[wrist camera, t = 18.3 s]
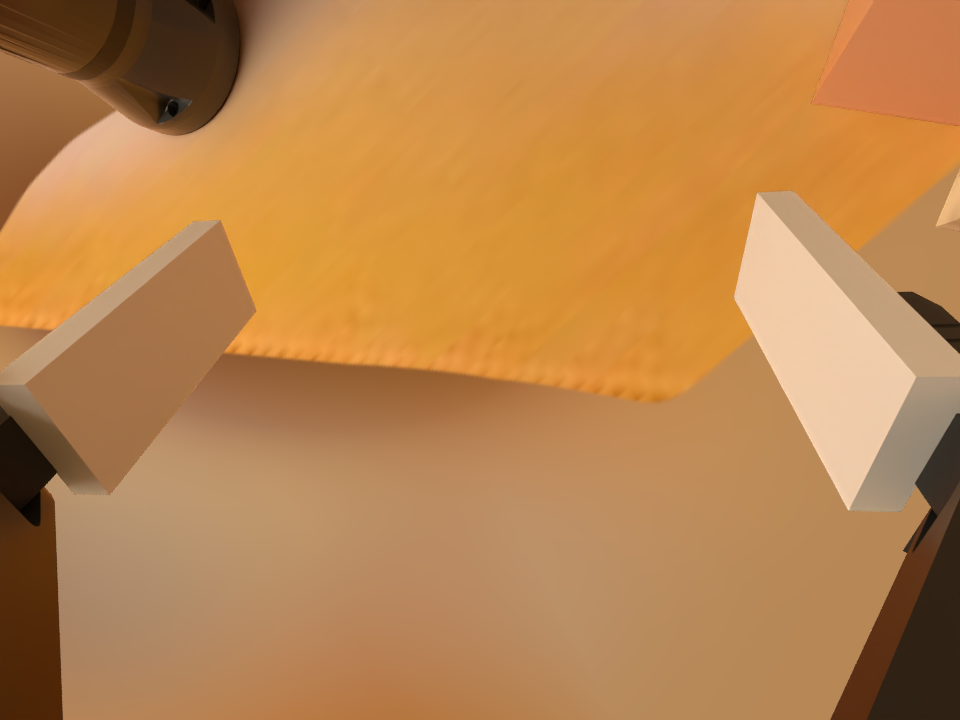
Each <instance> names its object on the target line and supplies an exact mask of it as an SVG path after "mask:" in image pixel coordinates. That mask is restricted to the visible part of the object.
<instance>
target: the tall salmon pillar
mask: <svg viewBox="0 0 960 720" xmlns="http://www.w3.org/2000/svg"><path fill="white" fill-rule="evenodd" d="M812 104H819V105H826V106H832V107H839V108H845V109H852V110H859V111H865V112H872V113H878V114H885V115H891V116H898V117H905V118H911V119H918V120H924V121H931V122H938V123H944V124H951V125H957V126H960V0H849V2H848V5H847V7H846V10H845V13H844V16H843V18H842V21H841V24H840V26H839V29H838V32H837V35H836V37H835V40H834V43H833V46H832V48H831V51H830V54H829V56H828V59H827V62H826V65H825V67H824V70H823V73H822V76H821V78H820V81H819V84H818V86H817V89H816V92H815V95H814V97H813V100H812Z"/></svg>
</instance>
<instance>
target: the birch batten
mask: <svg viewBox="0 0 960 720" xmlns="http://www.w3.org/2000/svg"><path fill="white" fill-rule="evenodd" d="M935 227H938V228H943V229H948V230H953V231H958V232H960V170H959V172H958V174H957V177H956V179H955V181H954V184H953V186H952V189H951V191H950V193H949V196H948V198H947V200H946V203H945V206H944V207H943V210H942V212H941V214H940V217H939V219H938V221H937V224H936V226H935Z"/></svg>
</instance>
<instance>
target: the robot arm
mask: <svg viewBox="0 0 960 720" xmlns="http://www.w3.org/2000/svg"><path fill="white" fill-rule="evenodd" d="M239 47H240V38H239V26H238V20H237V16H236V12H235V9H234V6H233V3H232V1H231V0H0V52H2V53H5V54H8V55H10V56H13V57H16V58H18V59H21V60H24V61H26V62H29V63H32V64H35V65H37V66H40V67H42V68H45V69H47V70H50V71H53V72H56V73H58V74H61V75H63V76H66V77H68V78H71V79H73V80H76V81H78V82H80V83H81V84H82V85H84V86H85V87H86V88H88V89H89V90H91V91H92V92H93V93H95V94H96V95H97V96H99V97H100V98H101V99H103V100H104V101H105V102H107V103H108V104H109V105H111V106H112V107H113V108H115V109H116V110H117V111H119V112H120V113H121V114H123V115H124V116H125V117H127V118H128V119H130V120H131V121H133V122H134V123H136V124H138V125H140V126H143V127H146V128H149V129H151V130H154V131H157V132H160V133H163V134H167V135H182V134H186V133H189V132H192V131H194V130H196V129H198V128H200V127H201V126H203V125H204V124H205V123H206V122H208V121H209V120H210V119H211V118H212V117H213V116H214V115H215V113H216V112H217V111H218V110H219V108H220V107H221V105H222V104H223V102H224V101H225V99H226V97H227V95H228V93H229V91H230V88H231V86H232V83H233V80H234V77H235V74H236V70H237V65H238V59H239ZM734 299H735V301H736V302H737V304H738V306H739V308H740V310H741V312H742V314H743V315H744V317H745V319H746V321H747V323H748V325H749V327H750V328H751V330H752V332H753V334H754V336H755V338H756V339H757V341H758V343H759V345H760V347H761V349H762V351H763V352H764V355H765V356H766V358H767V360H768V362H769V364H770V366H771V367H772V369H773V371H774V373H775V375H776V377H777V378H778V381H779V382H780V384H781V386H782V388H783V390H784V392H785V394H786V395H787V397H788V399H789V401H790V403H791V405H792V407H793V408H794V410H795V412H796V414H797V416H798V418H799V419H800V421H801V423H802V425H803V427H804V429H805V431H806V433H807V435H808V436H809V438H810V440H811V442H812V444H813V446H814V448H815V449H816V451H817V453H818V455H819V457H820V459H821V461H822V462H823V464H824V466H825V468H826V470H827V472H828V474H829V475H830V477H831V479H832V481H833V483H834V485H835V486H836V488H837V490H838V492H839V494H840V496H841V498H842V500H843V501H844V503H845V505H846V507H847V509H848V511H887V512H901V511H902V509H903V507H904V505H905V504H906V502H907V501H908V499H909V497H910V496H911V494H912V492H913V491H914V489H915V487H916V486H917V487H918V489H919V490H920V492H921V493H922V495H923V496H924V498H925V499H926V500H927V502H928V503H929V505H930V506H931V509H930V510H929V511H928V513H927V515H926V516H925V518H924V519H923V521H922V522H921V524H920V525H919V527H918V528H917V530H916V531H915V533H914V535H913V536H912V538H911V539H910V541H909V542H908V544H907V545H906V547H905V548H904V550H903V551H904V552H906V553H907V555H906V557H905V559H904V561H903V564H902V566H901V568H900V570H899V572H898V575H897V577H896V579H895V581H894V583H893V585H892V587H891V590H890V592H889V594H888V596H887V598H886V600H885V603H884V605H883V607H882V609H881V611H880V614H879V616H878V618H877V620H876V622H875V624H874V626H873V628H872V631H871V633H870V635H869V637H868V639H867V642H866V644H865V646H864V648H863V650H862V652H861V654H860V657H859V659H858V661H857V664H856V665H855V667H854V670H853V672H852V674H851V676H850V678H849V680H848V683H847V685H846V687H845V689H844V691H843V693H842V696H841V698H840V700H839V702H838V704H837V706H836V709H835V711H834V713H833V715H832V718H831V720H960V323H959V322H958V321H957V320H956V319H954V318H953V317H952V316H951V315H950V314H949V313H948V312H947V311H946V310H945V309H944V308H942V307H941V306H939V305H937V304H935V303H933V302H932V301H930V300H928V299H926V298H923V297H922V296H920V295H918V294H916V293H914V292H896V291H895V290H894V289H893V288H892V287H891V286H890V285H889V284H888V283H887V282H886V281H885V280H884V279H883V278H882V277H881V276H880V275H878V273H876V271H874V270H873V269H872V268H871V267H870V266H869V265H868V264H867V263H866V262H865V261H864V260H863V259H862V258H861V257H860V256H859V255H858V254H857V253H856V252H855V251H854V250H853V249H852V248H851V247H850V246H849V245H848V244H847V243H846V242H845V241H844V240H843V239H842V238H841V237H840V236H839V235H838V234H837V233H836V232H835V231H834V230H833V229H832V228H831V227H830V226H829V225H828V224H827V223H826V222H825V221H824V220H823V219H822V218H821V217H820V216H819V215H818V214H816V213H815V212H814V211H813V210H812V209H811V208H810V207H809V206H808V205H807V204H806V203H805V202H804V201H803V200H802V199H801V198H800V197H799V196H798V195H797V194H796V193H795V192H794V191H779V192H760V193H757V196H756V201H755V205H754V210H753V214H752V219H751V223H750V228H749V232H748V237H747V241H746V246H745V250H744V255H743V259H742V264H741V268H740V273H739V278H738V282H737V287H736V291H735V296H734ZM255 312H256V308H255V306H254V303H253V301H252V298H251V296H250V293H249V291H248V288H247V286H246V283H245V281H244V278H243V276H242V273H241V271H240V268H239V266H238V263H237V261H236V258H235V256H234V253H233V251H232V248H231V246H230V243H229V241H228V238H227V235H226V233H225V230H224V228H223V225H222V223H221V220H214V221H195V222H192V223H191V224H189V225H188V226H187V227H186V228H184V229H183V230H182V231H180V232H179V233H178V234H177V235H175V236H174V237H173V238H171V239H170V240H169V241H168V242H166V243H165V244H164V245H162V246H161V247H160V248H159V249H157V250H156V251H155V252H153V253H152V254H151V255H150V256H148V257H147V258H146V259H144V260H143V261H142V262H141V263H139V264H138V265H137V266H135V267H134V268H133V269H132V270H130V271H129V272H128V273H126V274H125V275H124V276H123V277H121V278H120V279H119V280H117V281H116V282H115V283H114V284H112V285H111V286H110V287H108V288H107V289H106V290H105V291H103V292H102V293H101V294H99V295H98V296H97V297H96V298H94V299H93V300H92V301H90V302H89V303H88V304H87V305H85V306H84V307H83V308H81V309H80V310H79V311H78V312H76V313H75V314H74V315H72V316H71V317H70V318H69V319H67V320H66V321H65V322H63V323H62V324H61V325H60V326H58V327H57V328H56V329H54V330H53V331H52V332H51V333H49V334H48V335H47V336H45V337H44V338H43V339H42V340H40V341H39V342H38V343H36V344H35V345H34V346H33V347H31V348H30V349H29V350H27V351H26V352H25V353H24V354H22V355H21V356H20V357H18V358H17V359H16V360H15V361H13V362H12V363H11V364H9V365H8V366H7V367H6V368H4V369H3V370H2V371H0V720H63V711H62V685H61V660H60V659H61V658H60V633H59V607H58V580H57V554H56V527H55V502H54V499H53V497H52V495H51V494H50V493H49V492H48V490H47V489H46V488H45V487H44V486H45V485H46V484H47V483H48V482H49V481H50V480H51V479H52V477H54V475H55V474H56V473H57V474H58V475H59V476H60V478H61V479H62V480H63V481H64V482H65V484H66V485H67V486H68V487H69V488H70V490H71V491H72V492H73V493H74V494H90V495H110V494H111V493H112V492H113V490H114V489H115V488H116V487H117V485H118V484H119V483H120V482H121V480H122V479H123V478H124V476H125V475H126V474H127V473H128V471H129V470H130V469H131V468H132V466H133V465H134V464H135V463H136V462H137V460H138V459H139V458H140V456H141V455H142V454H143V453H144V451H145V450H146V449H147V447H148V446H149V445H150V444H151V443H152V441H153V440H154V439H155V438H156V436H157V435H158V434H159V433H160V431H161V430H162V429H163V428H164V426H165V425H166V424H167V422H168V421H169V420H170V419H171V417H172V416H173V415H174V414H175V413H176V411H177V410H178V409H179V407H180V406H181V405H182V404H183V402H184V401H185V400H186V399H187V397H188V396H189V395H190V394H191V392H192V391H193V390H194V389H195V387H196V386H197V385H198V384H199V382H200V381H201V380H202V379H203V377H204V376H205V375H206V373H207V372H208V371H209V370H210V369H211V367H212V366H213V365H214V363H215V362H216V361H217V360H218V358H219V357H220V356H221V355H222V353H223V352H224V351H225V350H226V348H227V347H228V346H229V345H230V343H231V342H232V341H233V340H234V338H235V337H236V336H237V335H238V333H239V332H240V331H241V330H242V328H243V327H244V326H245V325H246V323H247V322H248V321H249V320H250V318H251V317H252V316H253V315H254V313H255Z"/></svg>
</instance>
